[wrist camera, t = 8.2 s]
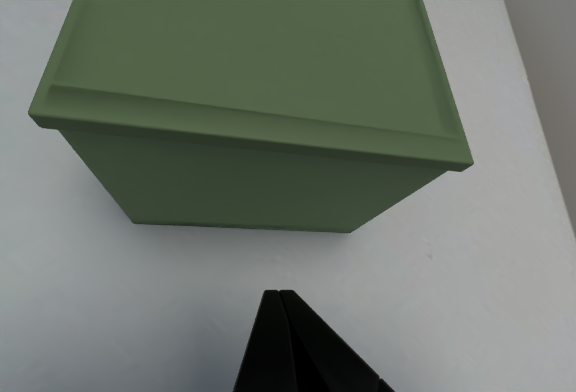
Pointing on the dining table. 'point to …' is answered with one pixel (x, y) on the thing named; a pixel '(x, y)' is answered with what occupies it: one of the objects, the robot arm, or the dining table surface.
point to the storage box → (253, 108)
